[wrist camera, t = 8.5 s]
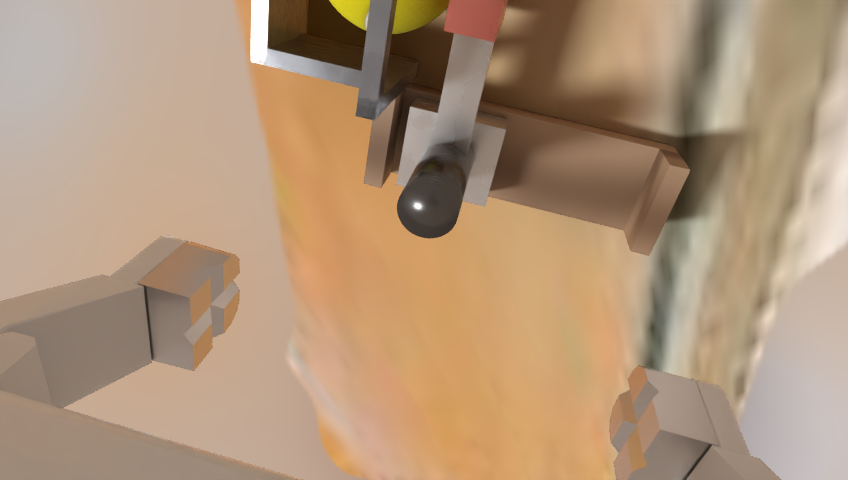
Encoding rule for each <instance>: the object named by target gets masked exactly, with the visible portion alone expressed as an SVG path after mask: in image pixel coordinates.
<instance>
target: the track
mask: <svg viewBox="0 0 848 480" xmlns="http://www.w3.org/2000/svg"><path fill="white" fill-rule="evenodd" d="M441 95H442V91H441V90H437V89H433V88H429V87H424V86H420V85H416V84H412V83H409V84H408V85H407V86H406V87H405V89H404V90H403V91H402V92H401V93H400V94H399V95H398V96H397V97H396V98H395V99H394V100H393V101H392V102H391V104H390V105H389V106H388V107H387V108H386V109H385V110H384V111H383V112H382V113H381V114H380V115H379V116H378V118H377V119H376V120H373V121H372V128H371V135H370V142H369V149H368V156H367V163H366V170H365V177H364V184H367V185H371V186H375V187H379V188H381V187H382V186H383V184H384V183H385V181H386V180H387V178H388V176H389V175H390V173H391V172H393V173H397V174H398V172H399V166H400V161H401V155H402V149H403V144H404V138H405V132H406V127H407V121H408V115H409V110H410V106H411V105H412V103H413V102H414V101H415V100H416V98H417V97H420V98H424V99H428V100H432V101H436V102H440V100H441ZM478 112H482V113H486V114H490V115H494V116H499V117H503V118H507V119H508V122H507V128H506V132H505V136H504V140H503V143H502V147H501V150H500V154H499V158H498V161H497V165H496V169H495V172H494V176H493V179H492V183H491V187H490V190H489V194H488V196H489V197H492V198H496V199H500V200H504V201H508V202H512V203H516V204H520V205H524V206H528V207H532V208H536V209H540V210H544V211H548V212H552V213H556V214H560V215H564V216H568V217H572V218H576V219H580V220H584V221H588V222H592V223H596V224H600V225H604V226H608V227H612V228H616V229H620V230H624V232H625V235H626V239H627V242H628V245H629V248H630V251H632V252H636V253H640V254H644V255H648V256H649V255H650V253H651V251H652V249H653V247H654V245H655V243H656V241H657V239H658V237H659V235H660V232H661V230H662V228H663V226H664V224H665V222H666V220H667V218H668V216H669V214H670V212H671V210H672V208H673V205H674V203H675V201H676V199H677V197H678V195H679V193H680V191H681V189H682V187H683V185H684V183H685V181H686V178H687V176H688V174H689V172H690V168H689V167H688V166H687V164H686V163H685V161H684V160H683V159H682V157H681V156H680V154H679V153H678V152H677V150H676V149H675V147H674V146H671V145H667V144H663V143H658V142H654V141H650V140H646V139H642V138H638V137H633V136H629V135H625V134H621V133H617V132H612V131H608V130H604V129H600V128H596V127H592V126H587V125H583V124H579V123H575V122H571V121H567V120H562V119H558V118H554V117H550V116H546V115H541V114H537V113H533V112H529V111H525V110H521V109H516V108H512V107H508V106H504V105H500V104H495V103H491V102H487V101H483V100H481V101H480V105H479V109H478Z"/></svg>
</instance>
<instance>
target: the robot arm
mask: <svg viewBox="0 0 848 480" xmlns="http://www.w3.org/2000/svg"><path fill="white" fill-rule="evenodd" d="M239 273H240V267H239V258H238V257H237V256H236V255H234V254H231V253H227V252H224V251H221V250H217V249H214V248H211V247H207V246H204V245H200V244H197V243H194V242H189V241H186V240H182V239H179V238H176V237H172V236H169V235H167V236H161V237H159V238H158V239H157V240H155V241H154V242H153V243H152V244H150V245H149V246H148V247H147V248H145V249H144V250H143V251H142V252H140V253H139V254H138V255H137V256H136V257H134V258H133V259H131V260H130V261H129V262H128V263H126V264H125V265H124V266H123V267H121V268H120V269H119V270H117V271H116V272H115V273H114V274H113V275H111V276H110V277H109V276H106V275H99V276H95V277H91V278H87V279H84V280H80V281H76V282H72V283H68V284H64V285H61V286H57V287H53V288H49V289H45V290H42V291H38V292H34V293H30V294H26V295H22V296H19V297H15V298H11V299H7V300H3V301H0V480H302V479H299V478H295V477H292V476H288V475H285V474H282V473H279V472H275V471H271V470H269V469H265V468H262V467H258V466H255V465H252V464H248V463H245V462H242V461H238V460H235V459H231V458H228V457H225V456H222V455H218V454H215V453H211V452H208V451H205V450H201V449H198V448H194V447H191V446H188V445H184V444H181V443H178V442H174V441H171V440H167V439H164V438H161V437H158V436H154V435H151V434H147V433H144V432H141V431H137V430H134V429H131V428H127V427H124V426H121V425H117V424H114V423H111V422H107V421H104V420H101V419H97V418H94V417H90V416H87V415H83V414H80V413H77V412H74V411H70V410H67V409H64V407H65V406H68V405H69V404H71V403H73V402H75V401H77V400H79V399H81V398H83V397H85V396H87V395H89V394H91V393H93V392H95V391H97V390H99V389H101V388H103V387H105V386H107V385H109V384H111V383H113V382H115V381H117V380H118V379H120V378H122V377H124V376H126V375H128V374H130V373H132V372H134V371H136V370H138V369H140V368H142V367H144V366H146V365H148V364H150V363H152V360H153V361H157V362H161V363H165V364H169V365H173V366H177V367H181V368H184V369H188V370H192V371H194V370H195V369H196V368H197V366H198V365H199V364H200V363H201V361H202V360H203V359H204V358H205V356H206V355H207V354H208V353H209V351H210V350H211V349H212V338H213V337H216V336H218V335H220V334H223V333H224V332H225V331H226V330H227V328H228V327H229V326H230V324H231V323H232V321H233V319H234V316H235V314H236V312H237V309H238V304H239V292H240V290H239V289H238V287H237V285H236V284H235V282H234V281H233V280H234V278H235V277H236V276H237V275H238V274H239ZM628 382H629V387H630V390H629V391H627V392H625V393H623V394H620V395H619V396H618V398H617V400H616V402H615V404H614V406H613V409H612V413H611V418H610V429H609V432H610V440H611V443H612V445H613V446H614V447H615V448H616V450H617V451H618V452H619V454H618V456H617V457H616V459H615V461H614V468H615V474H616V480H781V479H780V478H779V477H778V476H777V475H776V474H775V473H774V472H773V471H772V470H771V469H770V468H769V467H767V465H766V464H764V462H763V461H761V460H760V459H759V458H756V457H753V456H751V455H750V453H749V450H748V448H747V446H746V443H745V441H744V438H743V436H742V434H741V432H740V429H739V426H738V424H737V422H736V419H735V417H734V414H733V412H732V410H731V407H730V405H729V402H728V400H727V398H726V395H725V393H724V391H723V389H722V388H721V387H720V386H719V385H716V384H712V383H708V382H704V381H700V380H695V379H688V378H685V377H681V376H677V375H673V374H670V373H666V372H662V371H659V370H655V369H651V368H647V367H644V366H640V365H638V366H637V367H636V368H635V369H634V370H633V371H632V373H631V375H630V377H629V378H628Z"/></svg>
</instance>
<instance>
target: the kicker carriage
mask: <svg viewBox="0 0 848 480" xmlns="http://www.w3.org/2000/svg"><path fill="white" fill-rule="evenodd" d="M507 4H508V0H450V1H449V6H448V11H447V16H446V21H445V26H444V31H447V32H452V33H454V36H453V41H452V46H451V51H450V56H449V61H448V66H447V71H446V75H445V80H444V85H443V90H442V95H441V100H440V102H436V101H432V100H428V99H424V98H420V97H417V98H416V100H415V101H414V102H413V103H412V105H411V106H410V110H409V115H408V121H407V127H406V132H405V138H404V144H403V149H402V155H401V161H400V166H399V172H398V178H397V183H396V184H397V185H401V186H405V188H404V190H403V192H402V193H401V195H400V197H399V200H398V203H397V212H398V216H399V219H400V221H401V223H402V224H403V225H404V227H405V228H406V229H407V230H408V231H410V232H411V233H413V234H415V235H417V236H420V237H423V238H437V237H441V236H443V235H445V234H447V233H448V232H449V231H450V230H451V229H452V228H453V227H454V225H455V224H456V221H457V218H458V215H459V211H460V208H461V204H462V201H465V202H469V203H473V204H476V205H480V206H484V207H485V205H486V201H487V197H488V194H489V190H490V187H491V183H492V179H493V176H494V172H495V169H496V165H497V161H498V158H499V154H500V150H501V147H502V143H503V140H504V136H505V132H506V128H507V122H508V119H507V118H503V117H499V116H494V115H490V114H486V113H482V112H478V109H479V105H480V101H481V97H482V93H483V88H484V84H485V80H486V76H487V72H488V68H489V64H490V60H491V56H492V52H493V48H494V43H495V39H496V37H497V35H498V32H499V30H500V28H501V25H502V23H503V20H504V16H505V12H506V8H507Z"/></svg>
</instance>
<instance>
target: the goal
mask: <svg viewBox="0 0 848 480" xmlns="http://www.w3.org/2000/svg"><path fill="white" fill-rule="evenodd" d="M308 1H309V0H252V19H251V62H254V63H258V64H262V65H266V66H270V67H274V68H279V69H283V70H287V71H291V72H295V73H299V74H303V75H308V76H312V77H316V78H320V79H324V80H328V81H332V82H337V83H341V84H345V85H349V86H353V87H357V88H359V95H358V103H357V111H356V116H358V117H362V118H366V119H371V120H376V119H377V118H378V116H379V115H380V114H381V113H382V112H383V111H384V110H385V109H386V108H387V107H388V106H389V105H390V104H391V102H392V101H393V100H394V99H395V98H396V97H397V96H398V95H399V94H400V93H401V92H402V91H403V90H404V89H405V87H406V86H407V85H408V84H409V83H410V82H411V81H412V80H413V79H414V78H415V77H416V76H417V71H418V66H419V60H414V59H410V58H406V57H402V56H397V55H393V54H389V52H390V46H391V39H392V32H393V26H394V19H395V12H396V5H397V0H370V7H369V15H368V23H367V31H366V39H365V47H364V48H363V47H359V46H355V45H351V44H347V43H342V42H338V41H334V40H330V39H325V38H321V37H317V36H313V35H308V34H306V30H307V16H308Z"/></svg>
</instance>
